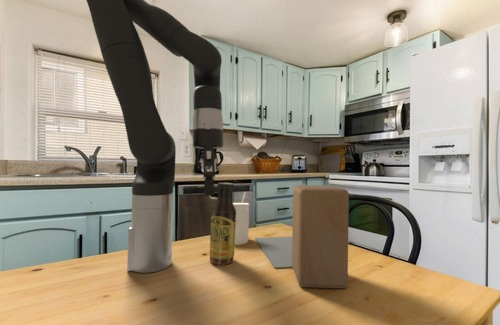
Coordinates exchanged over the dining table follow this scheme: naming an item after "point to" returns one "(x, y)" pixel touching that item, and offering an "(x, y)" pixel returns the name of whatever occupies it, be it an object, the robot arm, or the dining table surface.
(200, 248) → the dining table surface
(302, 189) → the block
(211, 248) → the sauce bottle
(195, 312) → the dining table surface
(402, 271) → the dining table surface
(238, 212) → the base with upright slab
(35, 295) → the dining table surface
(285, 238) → the mat
